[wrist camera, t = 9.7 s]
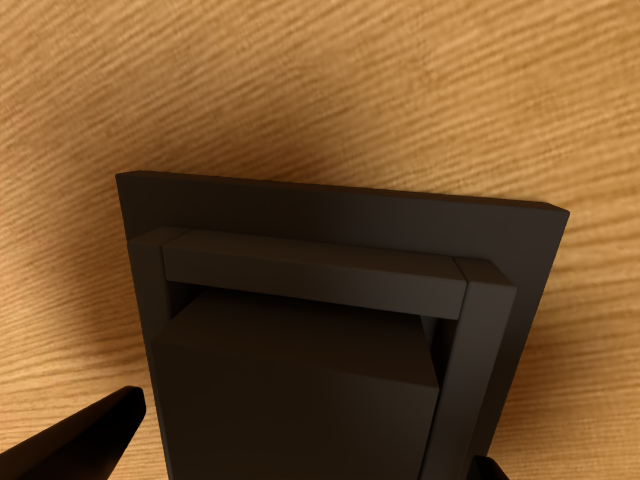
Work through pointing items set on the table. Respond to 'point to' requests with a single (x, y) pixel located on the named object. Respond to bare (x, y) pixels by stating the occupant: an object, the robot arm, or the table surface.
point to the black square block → (293, 389)
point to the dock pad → (357, 274)
